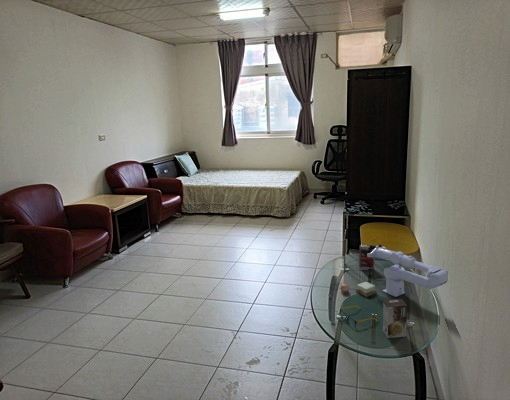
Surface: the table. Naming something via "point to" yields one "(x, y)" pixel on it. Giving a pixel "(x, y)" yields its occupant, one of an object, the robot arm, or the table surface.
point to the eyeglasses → (352, 319)
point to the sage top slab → (366, 287)
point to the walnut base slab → (366, 293)
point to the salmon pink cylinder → (344, 288)
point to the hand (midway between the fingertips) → (365, 249)
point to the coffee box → (394, 318)
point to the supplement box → (365, 259)
